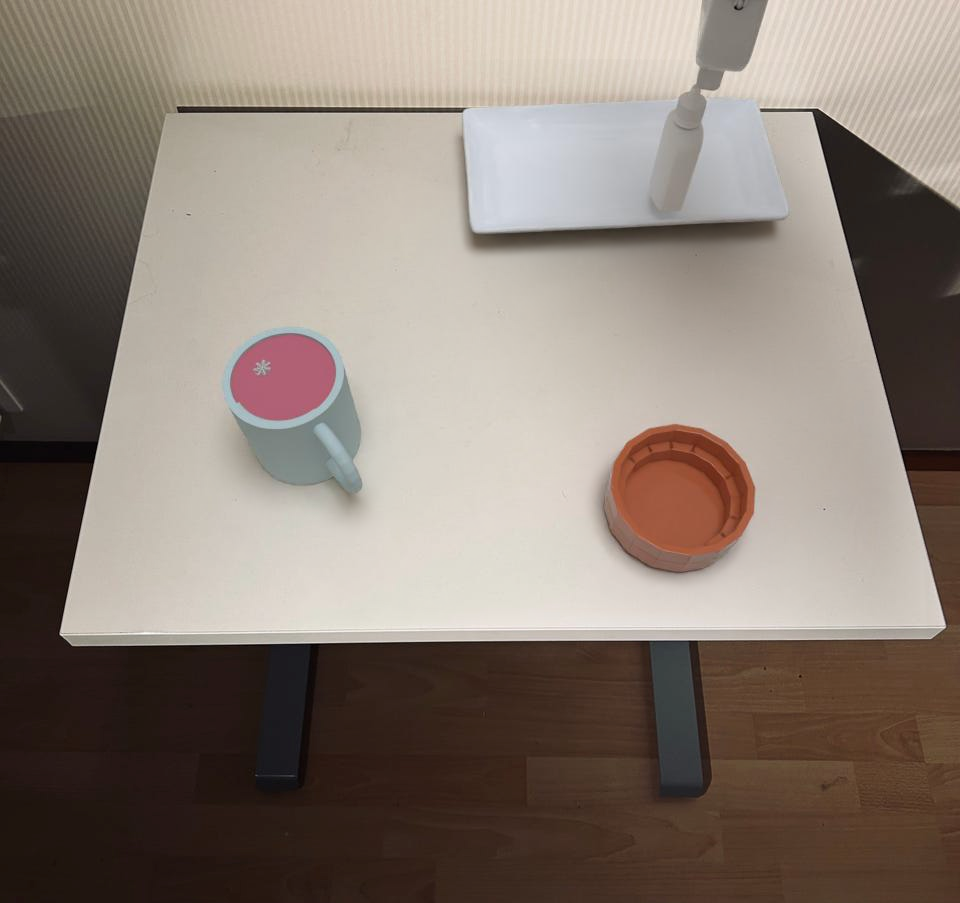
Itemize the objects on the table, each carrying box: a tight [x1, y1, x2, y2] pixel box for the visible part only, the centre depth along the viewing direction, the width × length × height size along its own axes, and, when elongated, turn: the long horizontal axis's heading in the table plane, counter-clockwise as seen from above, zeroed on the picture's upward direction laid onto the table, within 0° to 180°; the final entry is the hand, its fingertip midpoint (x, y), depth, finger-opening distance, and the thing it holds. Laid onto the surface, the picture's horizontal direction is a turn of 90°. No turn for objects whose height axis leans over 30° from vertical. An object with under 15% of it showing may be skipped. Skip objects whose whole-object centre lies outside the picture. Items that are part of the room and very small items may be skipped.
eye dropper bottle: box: [650, 83, 707, 211], centre depth 73 cm, size 4×6×12 cm
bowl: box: [603, 423, 756, 573], centre depth 65 cm, size 11×11×4 cm
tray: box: [461, 96, 790, 235], centre depth 82 cm, size 17×32×4 cm, turn 93°
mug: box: [221, 326, 363, 494], centre depth 64 cm, size 14×9×10 cm
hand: (711, 44), depth 64 cm, fingers open, 8 cm apart
